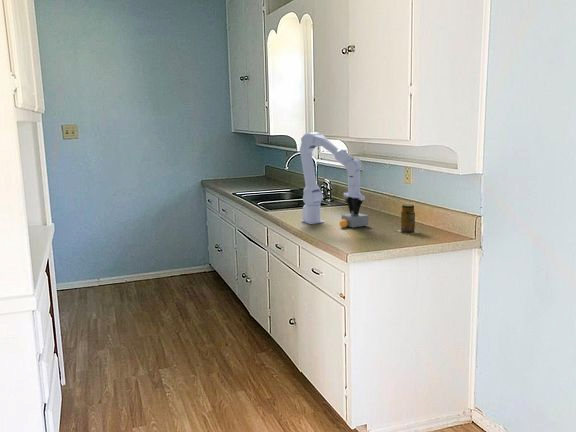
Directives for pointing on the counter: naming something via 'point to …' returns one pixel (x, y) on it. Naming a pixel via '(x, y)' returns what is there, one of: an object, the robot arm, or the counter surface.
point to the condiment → (408, 219)
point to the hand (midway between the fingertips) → (354, 213)
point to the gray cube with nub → (356, 219)
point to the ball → (343, 223)
